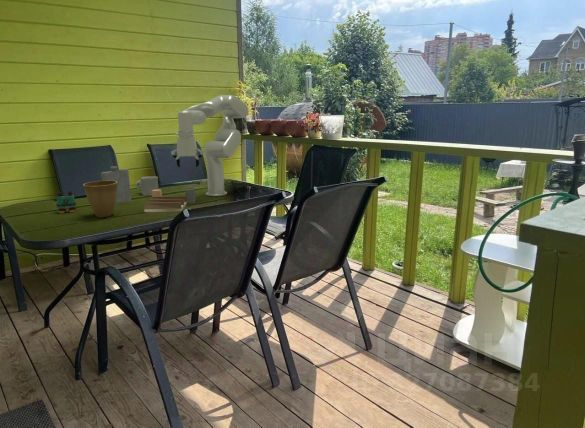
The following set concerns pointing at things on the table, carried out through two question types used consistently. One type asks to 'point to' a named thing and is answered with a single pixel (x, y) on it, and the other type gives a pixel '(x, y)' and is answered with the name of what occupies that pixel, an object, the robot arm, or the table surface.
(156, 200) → the cream shelf rack
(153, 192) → the terracotta plug block
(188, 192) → the grey plug block
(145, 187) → the coffee mug
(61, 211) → the binoculars
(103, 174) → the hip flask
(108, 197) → the plant pot
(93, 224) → the table surface
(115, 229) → the table surface
